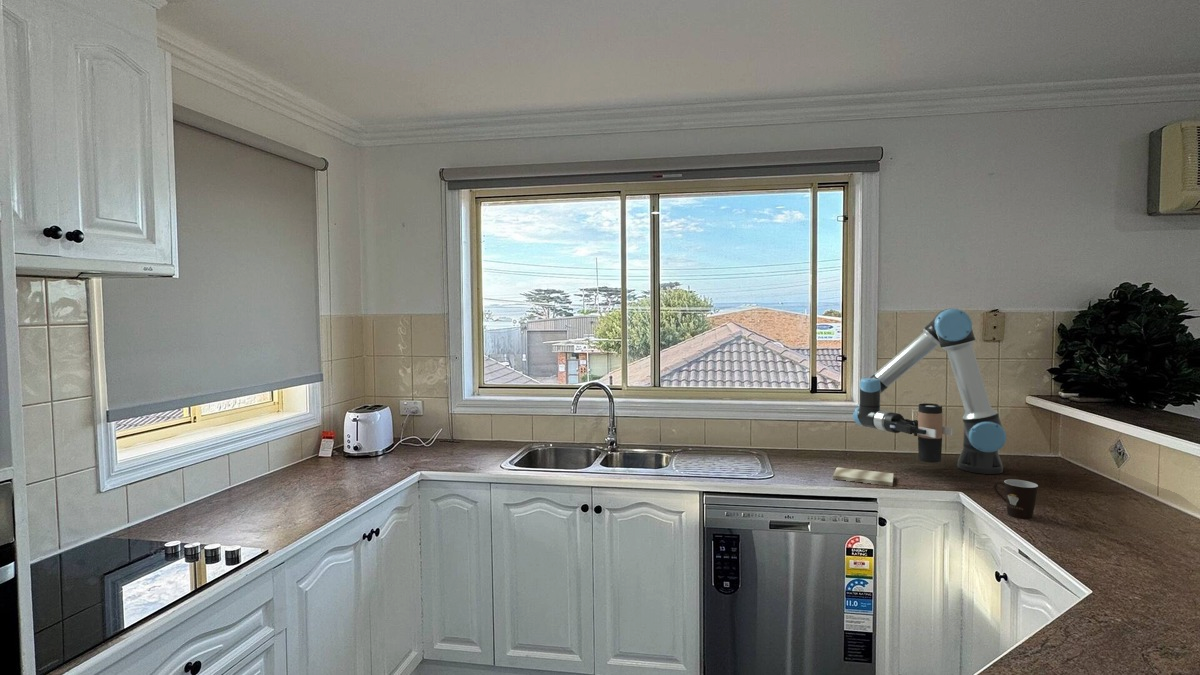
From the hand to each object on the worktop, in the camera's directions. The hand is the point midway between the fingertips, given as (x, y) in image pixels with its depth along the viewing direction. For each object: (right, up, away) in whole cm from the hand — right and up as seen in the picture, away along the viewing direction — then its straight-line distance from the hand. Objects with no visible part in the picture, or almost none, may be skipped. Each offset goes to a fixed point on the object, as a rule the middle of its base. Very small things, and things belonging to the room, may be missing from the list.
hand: (943, 432), depth 215 cm
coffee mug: (+8, -21, -25) cm, 34 cm away
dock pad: (-22, -19, +14) cm, 32 cm away
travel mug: (-2, -11, +6) cm, 12 cm away
